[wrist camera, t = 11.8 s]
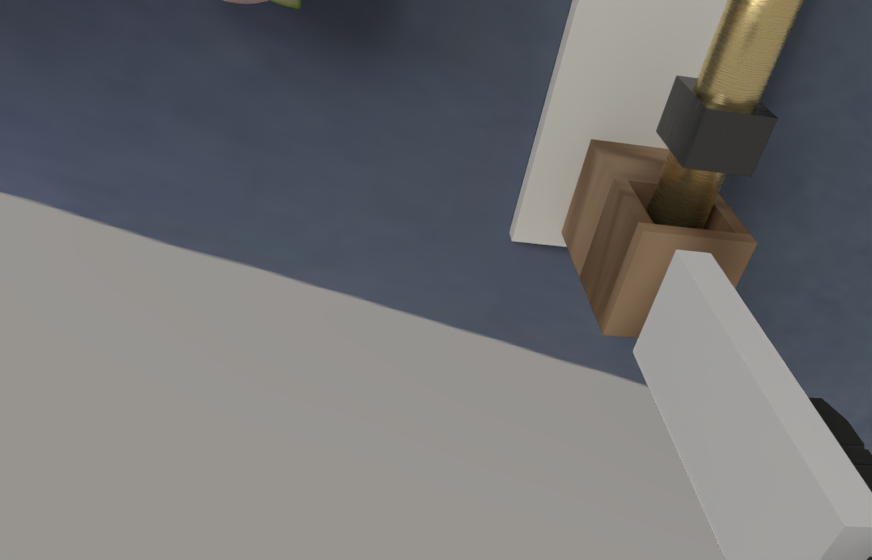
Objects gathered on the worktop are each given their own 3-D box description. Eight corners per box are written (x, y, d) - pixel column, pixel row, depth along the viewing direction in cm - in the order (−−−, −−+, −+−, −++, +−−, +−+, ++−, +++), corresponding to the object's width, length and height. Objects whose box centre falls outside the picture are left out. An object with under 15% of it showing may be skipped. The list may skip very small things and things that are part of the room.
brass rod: (608, 259, 44) (628, 302, 40) (816, -306, 29) (875, -309, 26) (665, 265, 44) (690, 308, 41) (898, -285, 29) (965, -286, 26)
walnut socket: (561, 232, 48) (602, 334, 40) (590, 139, 45) (643, 231, 37) (649, 242, 49) (707, 343, 41) (686, 151, 46) (757, 243, 38)
